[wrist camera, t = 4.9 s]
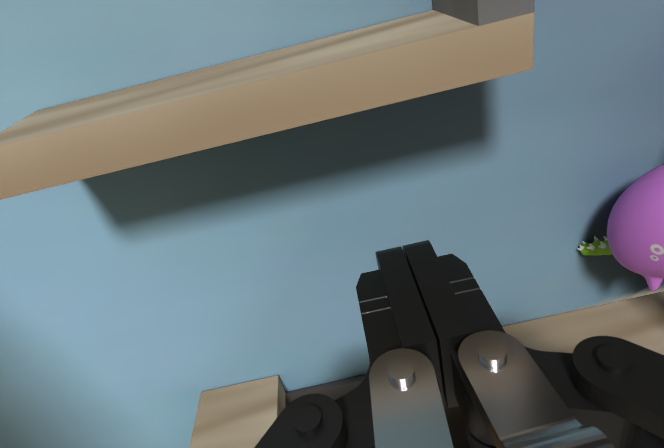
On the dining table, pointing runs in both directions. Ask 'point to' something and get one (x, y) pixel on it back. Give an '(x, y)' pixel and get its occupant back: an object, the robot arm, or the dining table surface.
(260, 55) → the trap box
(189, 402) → the dining table surface
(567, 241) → the dining table surface
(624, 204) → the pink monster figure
